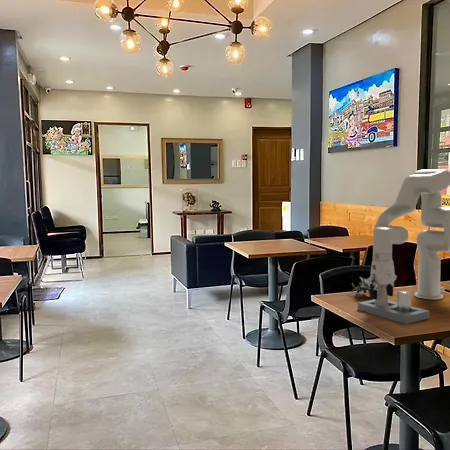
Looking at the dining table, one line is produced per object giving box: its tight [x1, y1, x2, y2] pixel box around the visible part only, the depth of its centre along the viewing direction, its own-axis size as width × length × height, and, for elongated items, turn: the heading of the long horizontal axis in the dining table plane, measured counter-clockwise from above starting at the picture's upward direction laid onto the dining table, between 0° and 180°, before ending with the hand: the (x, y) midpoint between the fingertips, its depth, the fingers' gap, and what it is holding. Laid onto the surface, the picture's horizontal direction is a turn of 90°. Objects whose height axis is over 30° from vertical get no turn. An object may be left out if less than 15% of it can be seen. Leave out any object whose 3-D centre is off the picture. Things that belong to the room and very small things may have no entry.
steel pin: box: [396, 290, 412, 314], centre depth 177 cm, size 5×5×10 cm
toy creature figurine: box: [351, 276, 370, 297], centre depth 211 cm, size 11×11×12 cm
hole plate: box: [357, 299, 430, 325], centre depth 182 cm, size 14×24×3 cm, turn 30°
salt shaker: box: [374, 284, 389, 307], centre depth 186 cm, size 6×6×13 cm
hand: (381, 297), depth 186 cm, fingers open, 9 cm apart
